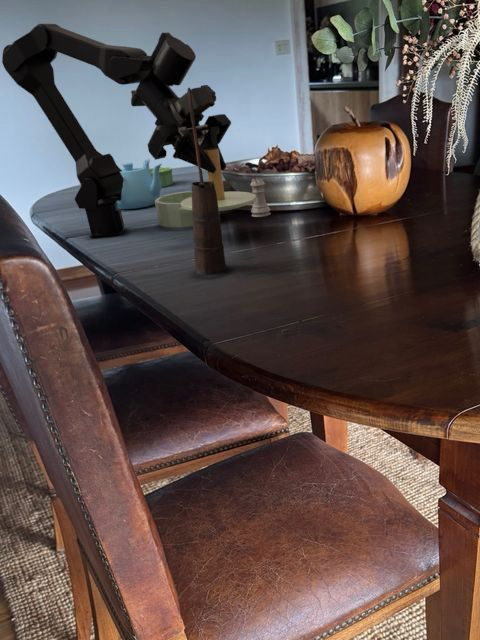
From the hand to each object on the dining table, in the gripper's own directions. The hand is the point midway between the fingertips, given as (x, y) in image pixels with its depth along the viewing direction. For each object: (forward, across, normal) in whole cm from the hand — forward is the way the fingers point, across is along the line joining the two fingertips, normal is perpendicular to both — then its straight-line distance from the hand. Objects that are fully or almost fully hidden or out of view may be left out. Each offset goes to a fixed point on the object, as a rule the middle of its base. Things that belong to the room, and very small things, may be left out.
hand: (219, 170), depth 122 cm
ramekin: (-35, +46, +55) cm, 80 cm away
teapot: (-25, +23, +44) cm, 56 cm away
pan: (-4, +11, +24) cm, 26 cm away
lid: (+3, 0, +5) cm, 6 cm away
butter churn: (+18, -19, +1) cm, 26 cm away
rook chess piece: (+5, +19, +14) cm, 24 cm away
